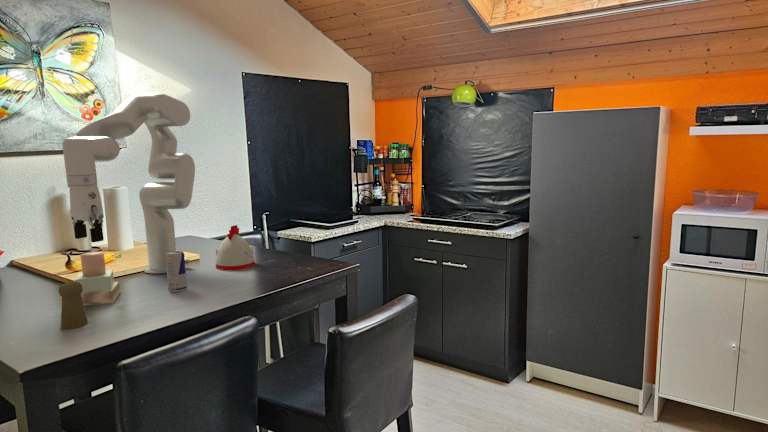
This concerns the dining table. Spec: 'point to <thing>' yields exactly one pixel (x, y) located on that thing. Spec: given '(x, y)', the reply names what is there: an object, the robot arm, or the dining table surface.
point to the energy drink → (176, 271)
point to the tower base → (101, 296)
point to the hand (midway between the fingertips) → (89, 239)
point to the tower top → (96, 282)
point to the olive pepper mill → (72, 306)
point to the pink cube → (93, 264)
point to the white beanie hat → (234, 252)
